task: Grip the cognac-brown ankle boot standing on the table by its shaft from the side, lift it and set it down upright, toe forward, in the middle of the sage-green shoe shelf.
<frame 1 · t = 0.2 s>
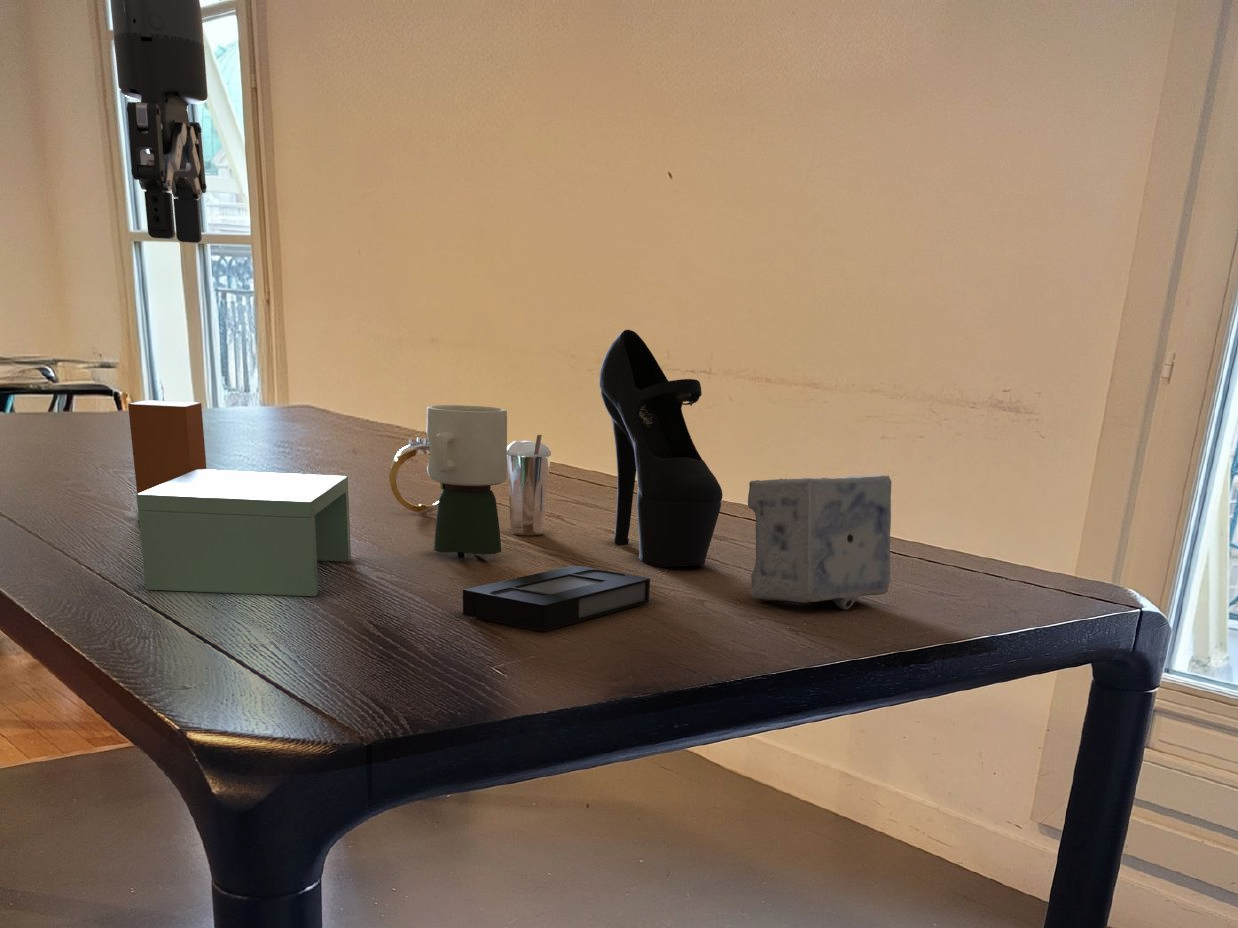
hand: (176, 240, 119), 26 cm above the table, tool pointing down, fingers open, 8 cm apart
high-heeled shoe: (659, 558, 123), on the table
vhs tape: (559, 611, 99), on the table
ankle boot: (175, 516, 130), on the table
milkshake: (528, 535, 131), on the table
character mug: (467, 558, 118), on the table
shoe shelf: (255, 573, 106), on the table
ring: (422, 516, 140), on the table
incense holder: (812, 603, 107), on the table
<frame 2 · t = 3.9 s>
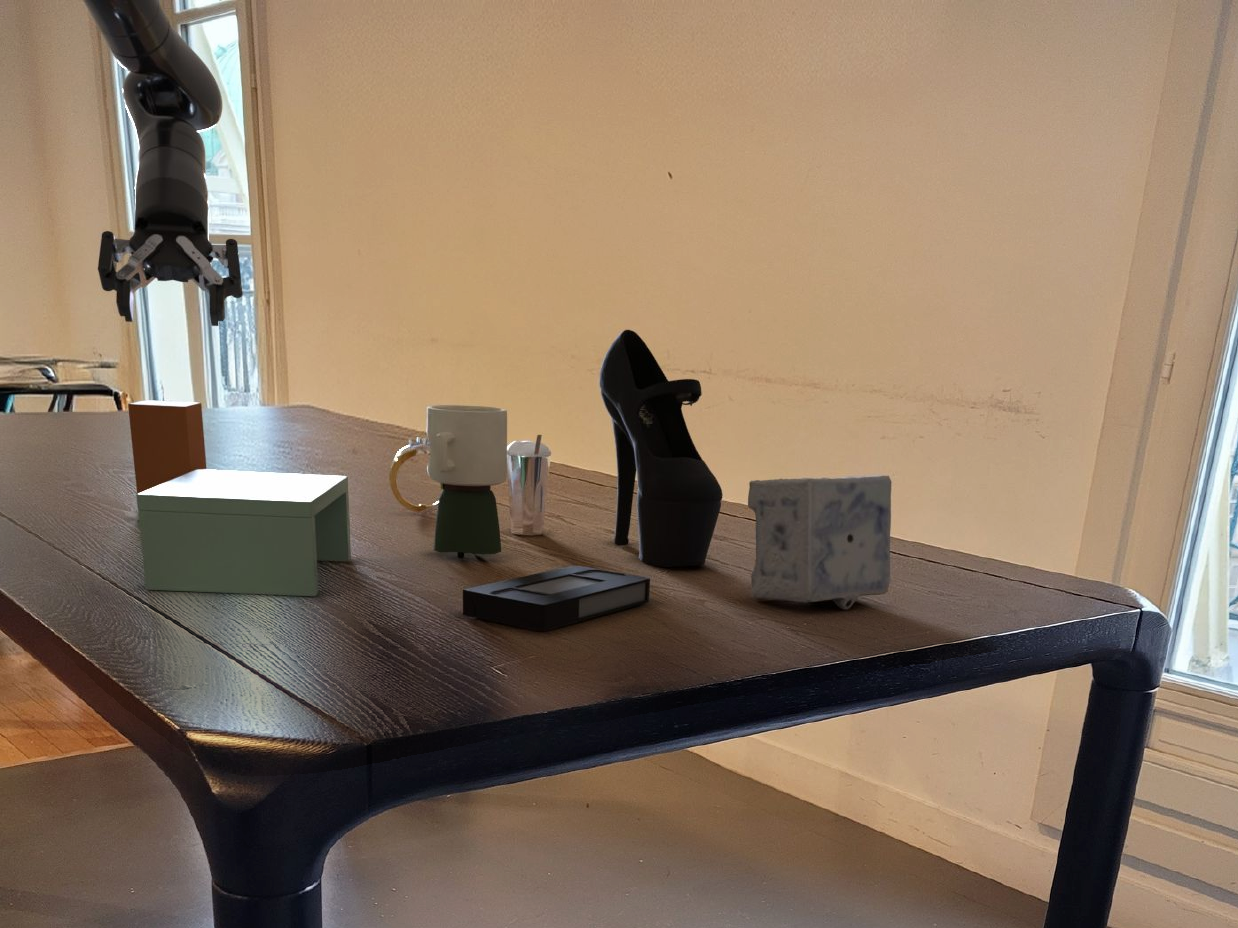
hand: (171, 317, 133), 19 cm above the table, tool tilted 45°, fingers open, 8 cm apart
nothing on the table moved.
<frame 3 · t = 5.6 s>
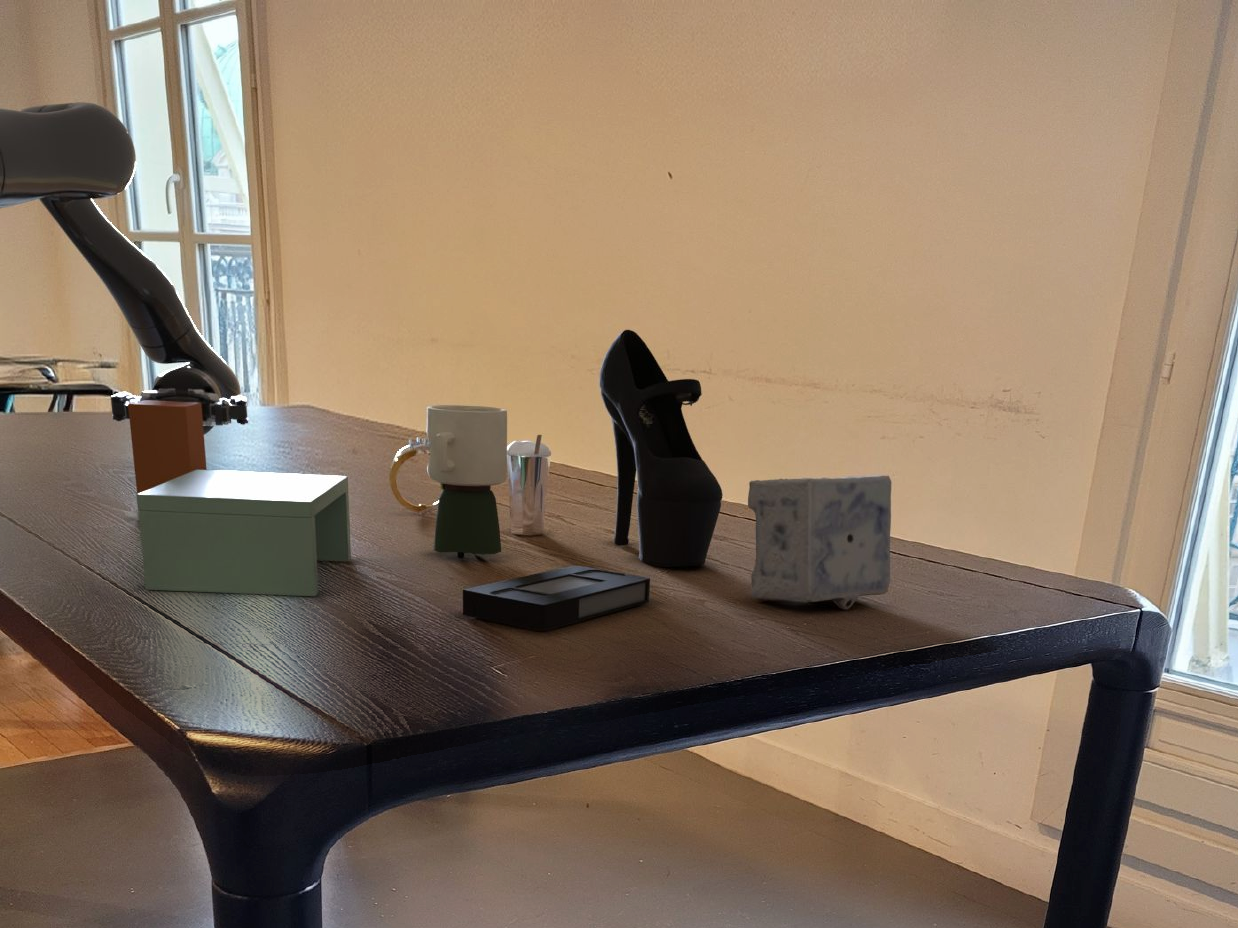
hand: (176, 413, 137), 9 cm above the table, tool horizontal, fingers open, 8 cm apart
nothing on the table moved.
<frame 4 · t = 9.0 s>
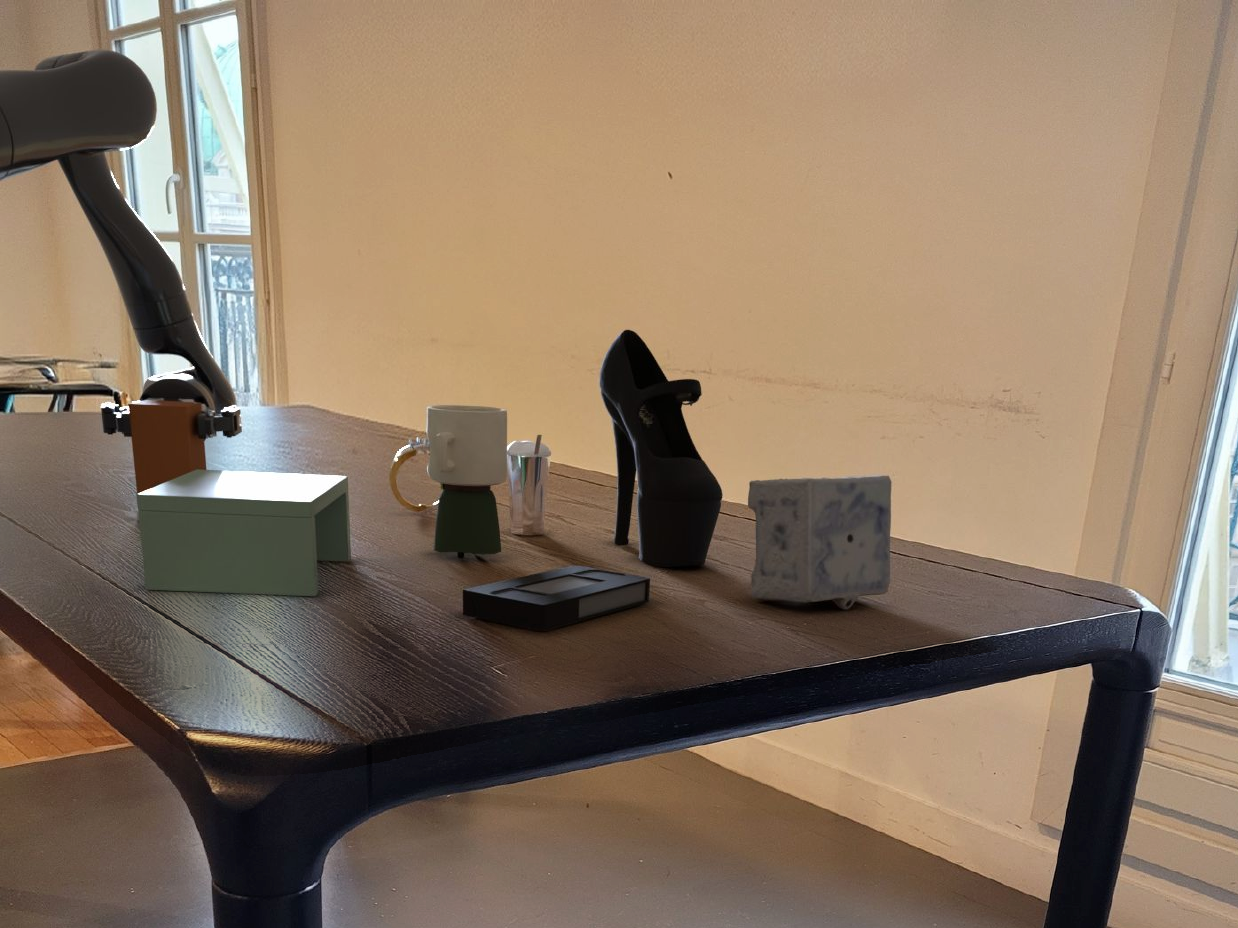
hand: (164, 426, 125), 9 cm above the table, tool horizontal, fingers closed on ankle boot, 6 cm apart
ankle boot: (175, 516, 130), on the table, touching gripper
everything else where it was.
when the fingers open (16 cm above the table, at t = 18.1 s): ankle boot stays where it is, resting on shoe shelf.
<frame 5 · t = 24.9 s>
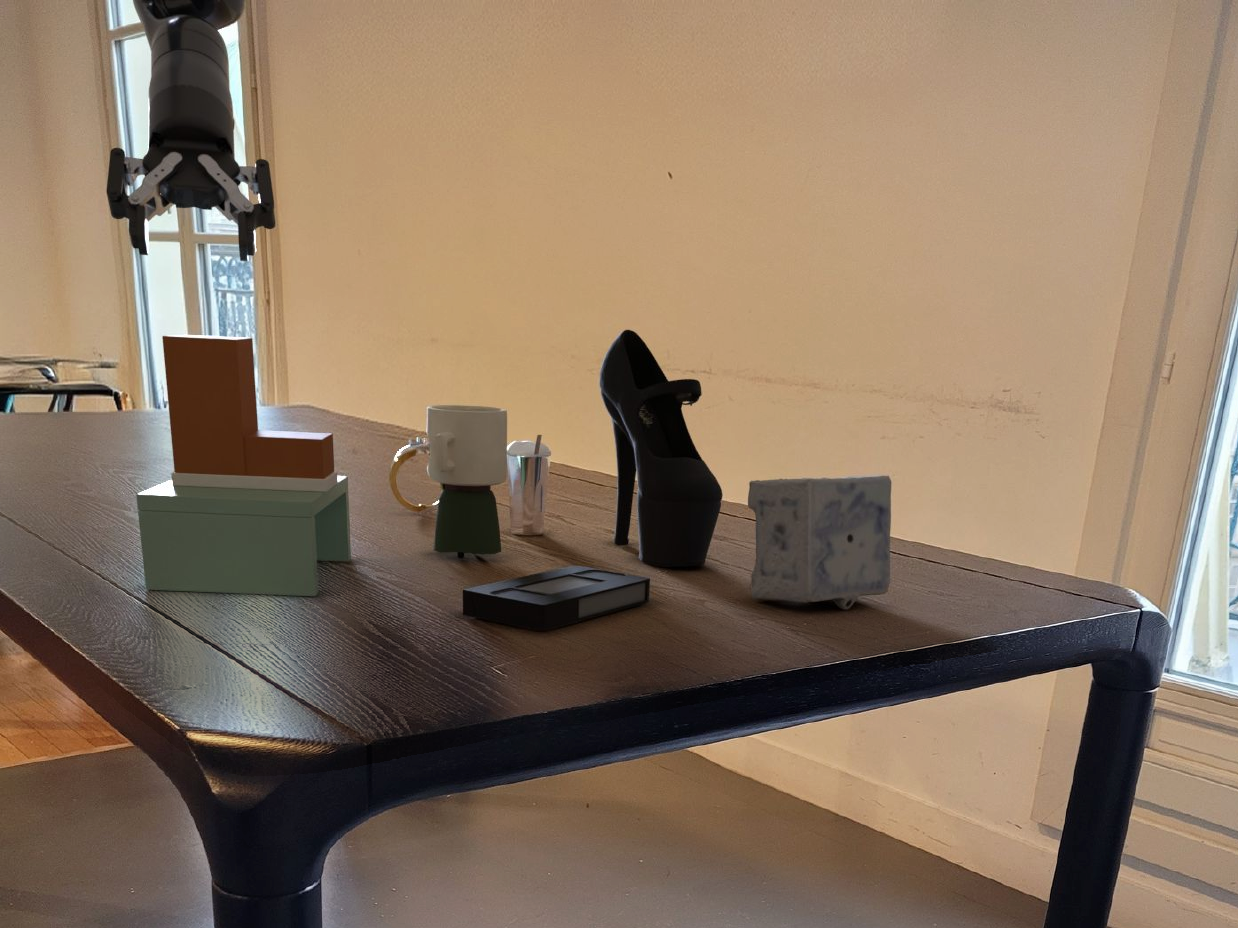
hand: (193, 250, 113), 25 cm above the table, tool tilted 45°, fingers open, 8 cm apart
ankle boot: (219, 483, 103), point 7 cm above the table, touching shoe shelf
everything else where it was.
at the end: ankle boot 0.1 cm from the target spot on the shoe shelf, point 7.2 cm above the shoe shelf's base; ankle boot tilted 0°; the gripper is holding nothing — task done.
